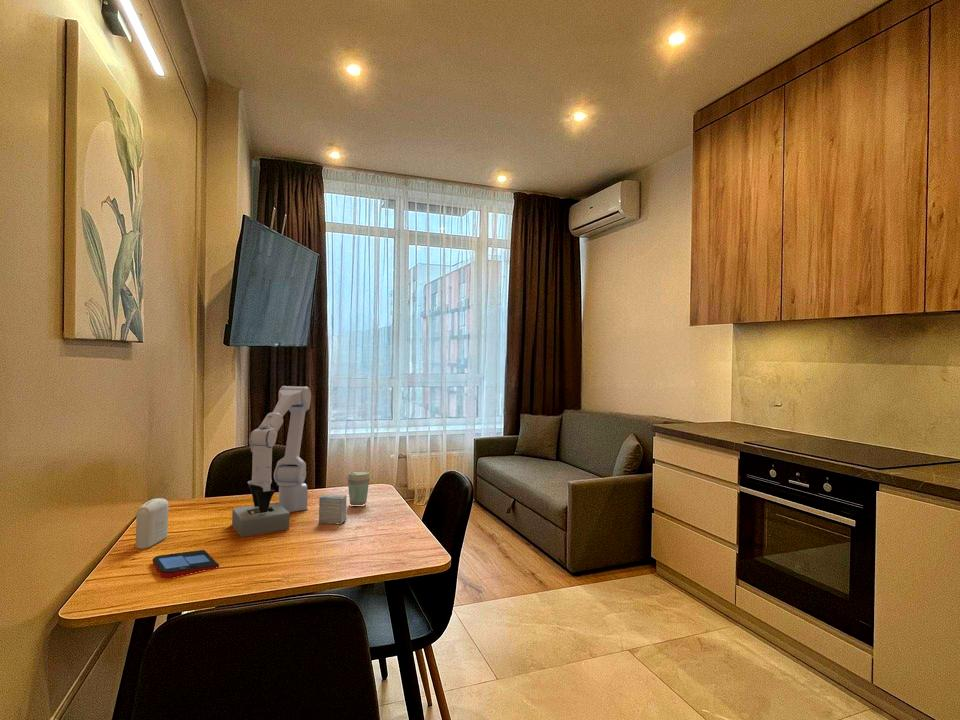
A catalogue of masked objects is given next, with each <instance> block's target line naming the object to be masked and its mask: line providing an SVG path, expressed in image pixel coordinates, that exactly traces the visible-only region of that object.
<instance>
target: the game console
mask: <svg viewBox="0 0 960 720" xmlns="http://www.w3.org/2000/svg"><path fill="white" fill-rule="evenodd" d="M152 566H154V568H155V570H156V572H157V573H158V574H159V573H160V574H159V577H160V579H162V578H171V579H174V578H173V577H176V578H178V577H177V576H180V577H182V576H181V575H185V576H187V575H186V574H189V575H191V574H190V573H194V574H196V573H195V572H198V573H200V572H199V571H203V570H207V571H209V570H208V569H212V570H214V569H213V568H216V567H218V568H219V567H220V565H219V563H218V562H216V560H215V559H214V558H213V557H212V556H211V555H210V554H209V553H208V552H207V551H206V550H205V549H199V550H192V551H183V552H175V553H168V554H161V555H156V556H154V557H153V559H152ZM216 569H217V568H216ZM203 572H204V571H203Z"/></svg>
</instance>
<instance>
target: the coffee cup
mask: <svg viewBox="0 0 960 720" xmlns="http://www.w3.org/2000/svg"><path fill="white" fill-rule="evenodd" d="M370 479H371V475H370V472H369V471H365V470H353V471H350V472H348V475H347V477H346V480H347V486H348V496H349V497H348V498H349V499H348V500H349V505H350V504H351V505H363V504H365V503H366V504H367V500H368V493H369V485H370Z"/></svg>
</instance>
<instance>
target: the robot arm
mask: <svg viewBox="0 0 960 720" xmlns="http://www.w3.org/2000/svg"><path fill="white" fill-rule="evenodd" d="M311 400H312V393H311V388H310V387H308V386H294V385H293V386H292V385H288V386H287V385H282V386H281V387H280V388H279V391H278V401H277V403H276V404H275V407H274V409H273V411H272V412H269V413H267V414H266V416H265V417H264V419H263V421H262V422H261V424H260V425H259V426H258V428H256V429H254V430H252V431H251V432H250V435H249V438H248V442H249V445H250V452H251V453H252V462H251V463H252V467H251V469H252V471H251V480H248V481H247V484H248V488H249V489H250V492H251V496H252V500H253V502H252V503H253V506H255V507H259V511H260V513H264V512H267V511H268V508H269V504H270V503H271V500H272V499H273V496H274V494H275V492H276V491H275V489H274V488H273V489H271V487H272V486H271V484H272V483H273V479H274V482H275V483H276V486H278V503H279V504H280V505H281V506H283V507H284V508H285V509H286V510H287V511H288V512H289V513H293V512H294V513H295V512H300V511H306V510H308V500H309V499H308V497H309V495H308V494H309V493H308V491H309V490H308V484H306V483H305V480H306V478H307V463H306V461H304V460H303V459H302V457H300V456H301V455H300V454H301V445H302V440H303V431H304V424H305V420H306V419H305V418H306V412H308V410H310V406H311ZM288 411H289V413H290V418H289V423H288V424H289V425H288V431H287V437H286V438H287V439H286V443H285V444H286V445H285V452H284V456H283V457H282V458H280V459H279V460H278V461H277V462H276V465H275V468H274V471H272V467H273V465H272V464H273V463H272V462H273V447H274V446H275V444H276V442H277V437H278V433H279V430H280V428H281V427H282V425H283V424H284V419H283V417H284V416H285V414H286V413H287V412H288ZM272 472H273V479H272Z"/></svg>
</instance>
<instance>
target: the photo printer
mask: <svg viewBox="0 0 960 720" xmlns="http://www.w3.org/2000/svg"><path fill="white" fill-rule="evenodd" d="M135 520H136V521H135V523H136V524H135V548H136V549H140V550H141V549H142V550H143V549H147V548H150V547H153V546H154V545H156V544H159V543H160V542H161V541H163V540H166V538H167V537H168V534H169V533H168V532H169V531H168V529H169V528H168V527H169V502H168V500H167V499H165V498H159V497H158V498H153V499H149V500H148V501H146V502H145V503H143V504H142V505H141V506H140V507H139V508H138V509H137V512H136V519H135Z"/></svg>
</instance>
